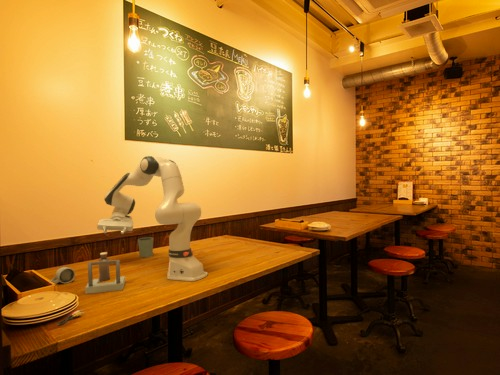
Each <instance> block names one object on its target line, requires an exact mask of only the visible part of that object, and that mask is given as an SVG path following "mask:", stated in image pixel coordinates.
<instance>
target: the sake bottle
mask: <svg viewBox="0 0 500 375" xmlns="http://www.w3.org/2000/svg"><path fill="white" fill-rule="evenodd" d="M99 255H100V258H99V259H98V262H100V261H103V260H106V261H110V257H107V255H108V252H107V251H104V252H100V253H99ZM110 273H111V272H110V264H101V265H98V279H99V281H100V282H106V281H109V280H110V278H111V276H110V275H111V274H110Z"/></svg>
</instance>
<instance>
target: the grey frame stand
mask: <svg viewBox="0 0 500 375" xmlns="http://www.w3.org/2000/svg"><path fill="white" fill-rule="evenodd" d="M120 261H121V260H120V259H114V260H109V261H106V260H103V261H100V262H99V261H89V262H87V277H88V278H87V284H86V286H85V287H84V291H85V295H89V294H96V293H107V292H114V291H122V290H124V287H125V285H126V276H125V275H124V276H123V275H122V276H121V264H120ZM101 264H109V265H110V264H112V265H113V264H115V279H114V281H112V282H110V281H109V282H101V281H99V278H94V279H93V277H94V276H93V266H99V265H101ZM100 282H101V283H100Z"/></svg>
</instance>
